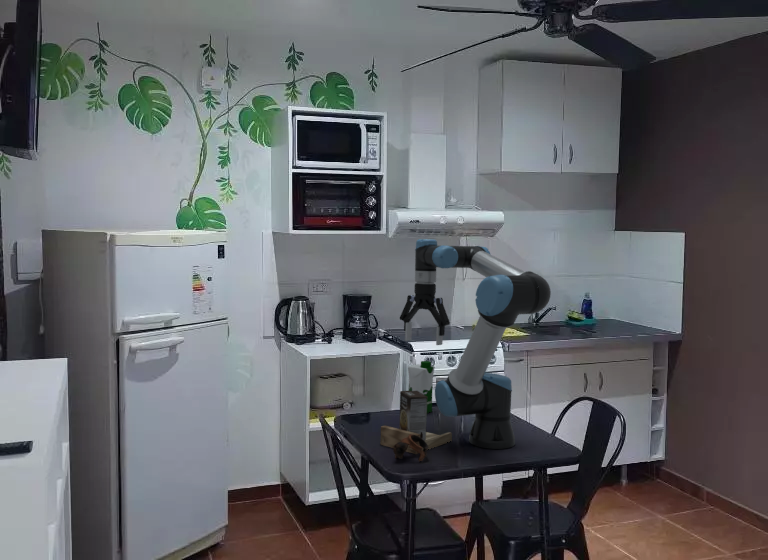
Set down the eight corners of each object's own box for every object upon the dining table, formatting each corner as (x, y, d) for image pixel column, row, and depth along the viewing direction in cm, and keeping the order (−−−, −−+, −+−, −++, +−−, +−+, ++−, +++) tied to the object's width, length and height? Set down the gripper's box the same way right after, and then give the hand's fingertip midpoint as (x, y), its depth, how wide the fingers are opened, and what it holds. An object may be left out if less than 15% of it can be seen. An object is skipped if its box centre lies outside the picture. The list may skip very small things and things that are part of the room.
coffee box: (398, 438, 237) (399, 390, 236) (416, 437, 239) (417, 389, 238) (407, 446, 229) (409, 396, 228) (426, 445, 231) (427, 396, 230)
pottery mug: (404, 452, 227) (418, 432, 226) (422, 472, 221) (436, 451, 220) (380, 450, 218) (394, 429, 217) (398, 471, 212) (413, 449, 211)
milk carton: (423, 416, 272) (425, 364, 271) (403, 412, 277) (405, 361, 276) (435, 411, 279) (437, 361, 278) (415, 408, 284) (417, 358, 283)
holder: (451, 441, 240) (452, 423, 239) (416, 454, 224) (416, 435, 224) (417, 432, 249) (417, 415, 248) (380, 444, 233) (380, 426, 233)
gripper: (391, 281, 257) (389, 339, 258) (448, 285, 241) (446, 347, 242) (403, 280, 263) (402, 337, 264) (460, 284, 247) (458, 345, 248)
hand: (423, 342), depth 253 cm, fingers open, 13 cm apart
